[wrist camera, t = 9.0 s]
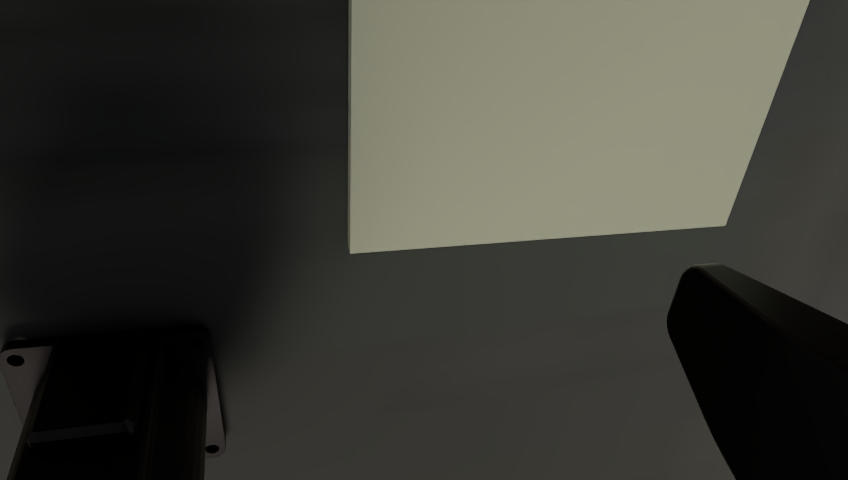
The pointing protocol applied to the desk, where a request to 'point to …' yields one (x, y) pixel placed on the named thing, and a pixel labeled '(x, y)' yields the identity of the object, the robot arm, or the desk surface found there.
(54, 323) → the desk surface
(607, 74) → the mat
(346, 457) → the desk surface
